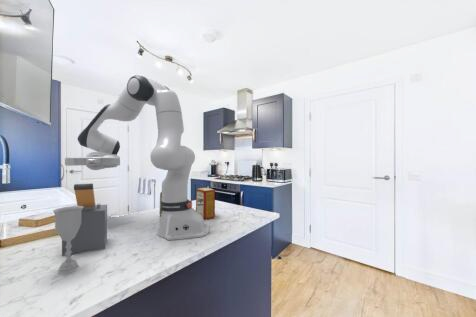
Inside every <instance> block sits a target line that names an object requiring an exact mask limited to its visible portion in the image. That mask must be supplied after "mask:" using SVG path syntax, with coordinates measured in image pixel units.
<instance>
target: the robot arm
mask: <svg viewBox="0 0 476 317" xmlns="http://www.w3.org/2000/svg"><path fill="white" fill-rule="evenodd" d="M146 104H147V105H149V106H153V107H154V109H155V115H156V123H157V139H156V144H155V146H154V147H153V149H152V150H151V152H150V156H149V157H150V162H151V164H152V165H153V166H154V167H155V168H156V169H160V170H163V171H167V172H166V175H165V178H164V179H163V181H162V183H161V191H162V201H161V204H160V203H159V213H160V212H161V218H160V219H159V220H160V221H159V227H158V230H157V235H158V236H159V237H161V238H164V239H165V240H167V241H175V240H184V239H185V240H186V239H193V238H203V237H205V236H207V235H208V234H209V233H210V232H209V231H210V226H209V225H208V224H206V223H205V220H204V219H203V216H202V215H201V214H200V213H198V212H197V211H196V209H194V208H193V201H192V200H190V199H188V191H189V190H188V188H189V187H188V185H189V177H190V173H191V171H192V170H191V169H192V166H193V164H194V162H195V159H196V154H195V152H194V151H193V150H192V149H191V148H189V147H188V146H186V145H182V144H181V141H182V135H183V133H184V130H185V126H184V121H183V113H182V107H181V102H180V99H179V97H178V95H177V93H176V92H175V91H173V90H171V89H170V88H169V87H167V86H165V85H163V84H161V83H159V82H157V80H154V79H152V78H151V79H150V78H149V77H148V78H147V77H145V76H143V75H140V74H139V75H137V74H136V75H133V76H131V77H130V78H129V79H128V81H127V83H126V86H125V88H124V89H123V90H122V92H121V93H120V95H119V97H118V98H117V100H116V101H115V102H114V103H112V104H106V105H104V106H103V107H102V108H101V109H100V110H99V112H97V114H96V115H95V116H94V117H93V118H92V120H91V121H90V122H89V123H88V125H87V126H86V127H85V128H84V129H82V130H81V132H79V134H78V136H77V142H78V143H79V145H80V146H82V147H85V148H87V149H90V150H92V152H89V153H88V154H87V155H86V156H67V157H65V158H64V165H65V166H66V167H67V166H69V167H70V166H71V167H72V166H85V167H87V168H88V169H89V170H91V171H92V170H93V171H99V170H105V169H110V168H112V169H113V168H117V167H118V166H120V165H121V157H120V156H119V155H118V153H119V151H120V148H121V144H120V142H119V140H118V139H115V137H112V136H109V135H107V134H104V133H103V132H100V131H99V127H100V126H101V125H102V124H103V123H104V122H105V121H106V120H115V121H119V122H132V121H134V120H136V119H137V117H138V116H139V115H140V113H141V112H142V110H143V108H144V106H145V105H146Z"/></svg>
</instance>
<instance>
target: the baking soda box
mask: <svg viewBox="0 0 476 317" xmlns="http://www.w3.org/2000/svg"><path fill="white" fill-rule="evenodd" d="M215 205H216V190H215V189H213V188H209V187H201V188H195V211H197V212H198V213H200V214H201V215H202V216H203V219H204V221H206V220H205V219H207V220H211V219H210V218H212V219H215V218H216V214H215V213H216V212H215V211H216V206H215ZM214 217H215V218H214Z"/></svg>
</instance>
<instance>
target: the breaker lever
mask: <svg viewBox="0 0 476 317" xmlns="http://www.w3.org/2000/svg"><path fill="white" fill-rule="evenodd" d="M73 191H74V195H75V200H76V206H83V209H87V208H95V207H96V205H97V204H96V200H95V190H94V184H93V183H75V184H73Z"/></svg>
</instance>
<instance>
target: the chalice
mask: <svg viewBox="0 0 476 317" xmlns="http://www.w3.org/2000/svg"><path fill="white" fill-rule="evenodd" d="M82 209H83V206H77V205H72V206H70V205H69V206H64V207H59V208H56V209H55V208H54V209H53V210H52V212H53V213H54V218H55V219H54V227H55V231H56V232H57V235H58V236H59V237H60V238H61V241H62V240H63V241H66V242H67V244H66V247H65V248H66V250H67V251H66V253H65V255H66V256H65V257H66V259H65V261H63V262H61V263H60V266H59V267H58V270H57V272H56V274H58V275H68V274H70V273H73V272H75V271H77V270H78V269H80V265H79V263H78V262H77V260H76V259H74V258H71V253H72V251H71V250H70V249H71V247H72V245H71V243H70V242H71V240H72V239H74V238H75V236H76V234H77V232H78V230H79V228H80V225H81V211H82Z"/></svg>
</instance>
